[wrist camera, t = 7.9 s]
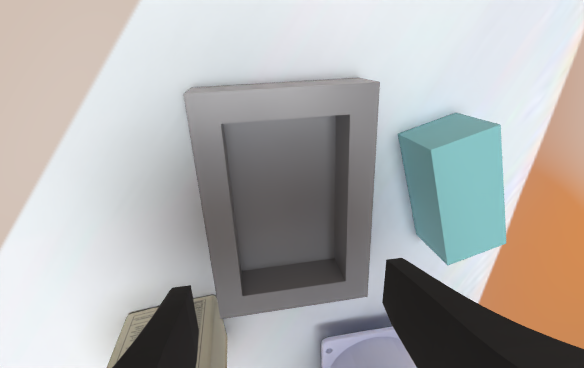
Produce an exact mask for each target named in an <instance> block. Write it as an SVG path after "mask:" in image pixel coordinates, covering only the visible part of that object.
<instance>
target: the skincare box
mask: <svg viewBox="0 0 584 368" xmlns="http://www.w3.org/2000/svg"><path fill="white" fill-rule="evenodd" d="M193 301H194V306H195V312H196V317H197V322H198V328H199V338H198V354H197V363H196V368H227V334H226V331H225V327H224V323H223V319H220V314H219V308H218V302H217V299H216V297H215V296H214V295H210V296H206V297H201V298H196V299H193ZM158 308H159V307H156V308H151V309H147V310H144V311H140V312H136V313H132V314H129V315H128V316H127V318H126V320H125V323H124V325H123V328H122V330H121V333H120V335H119V338H118V340H117V343H116V345H115V348H114V351H113V353H112V356H111V358H110V361H109V363H108V366H107V368H112V367H113V366H114V365H115V364H116V362H117V361H118V360H119V359H120V358H121V356H122V355H123V354H124V353H125V352H126V350H127V349H128V348H129V347H130V345H131V344H132V343H133V342H134V340H135V339H136V338H137V337H138V335H139V334H140V332H141V331H142V330H143V328H144V327H145V326H146V324H147V323H148V322H149V320H150V319H151V318H152V316H153V315H154V313H155V312H156V310H157V309H158Z"/></svg>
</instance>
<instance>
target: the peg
mask: <svg viewBox="0 0 584 368" xmlns="http://www.w3.org/2000/svg"><path fill="white" fill-rule="evenodd" d="M398 137H399V143H400V148H401V154H402V159H403V164H404V170H405V175H406V180H407V186H408V191H409V197H410V202H411V207H412V213H413V218H414V223H415V229H416V234H417V235H418V236H419V237H420V238H421V239H422V240H423V241H424V242H425V243H426V244H427V245H428V246H429V247H430V248H431V249H432V250H433V251H434V252H435V253H436V254H437V255H438V256H439V257H440V258H441V259H442V260H443V261H444V262H445V263H446V264H447V265H450V264H453V263H456V262H458V261H461V260H464V259H466V258H469V257H471V256H474V255H477V254H479V253H482V252H485V251H487V250H490V249H493V248H495V247H498V246H501V245H503V244H506V228H505V207H504V187H503V167H502V146H501V126H500V124H496V123H492V122H489V121H485V120H481V119H477V118H474V117H470V116H466V115H462V114H459V113H454V114H451V115H448V116H446V117H443V118H440V119H437V120H435V121H432V122H429V123H426V124H423V125H421V126H418V127H415V128H412V129H410V130H407V131H404V132H401V133H399V134H398Z"/></svg>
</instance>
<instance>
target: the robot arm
mask: <svg viewBox="0 0 584 368" xmlns="http://www.w3.org/2000/svg"><path fill="white" fill-rule="evenodd" d="M383 305H384V307H385V310H386V312H387V315H388V317H389V319H390V321H391V324H392V327H386V328H380V329H374V330H368V331H362V332H356V333H350V334H344V335H338V336H332V337H327V338H325V339H323V341H322V343H321V350H322V368H584V349H581V348H579V347H576V346H573V345H570V344H567V343H565V342H562V341H559V340H557V339H554V338H552V337H549V336H546V335H544V334H542V333H539V332H537V331H534V330H532V329H529V328H527V327H525V326H522V325H520V324H518V323H516V322H513V321H511V320H509V319H507V318H505V317H503V316H501V315H499V314H497V313H495V312H493V311H491V310H489V309H487V308H485V307H483V306H481V305H479V304H478V303H476V302H474V301H472V300H470V299H468V298H467V297H465V296H463V295H461V294H460V293H458V292H456V291H455V290H453V289H451V288H450V287H448V286H446V285H445V284H443V283H441V282H440V281H438V280H437V279H435V278H433V277H432V276H430V275H429V274H427V273H426V272H424V271H422V270H421V269H419V268H418V267H416V266H415V265H413V264H411V263H410V262H408V261H406V260H405V259H403V258H397V259H389V260H386V271H385V281H384V292H383ZM198 338H199V328H198V322H197V317H196V312H195V306H194V301H193V296H192V290H191V285H190V286H183V287H175V288H172V289H171V290H170V291H169V293H168V294H167V296H166V297H165V299H164V300H163V302H162V303H161V305H160V306H159V308H158V309H157V310H156V312H155V313H154V315H153V316H152V318H151V319H150V320H149V322H148V323H147V324H146V326H145V327H144V328H143V330H142V331H141V332H140V334H139V335H138V337H137V338H136V339H135V340H134V342H133V343H132V344H131V345H130V347H129V348H128V349H127V350H126V352H125V353H124V354H123V355H122V356H121V358H120V359H119V360H118V361H117V362H116V364H115V365H114V366H113V367H112V368H196V363H197V354H198Z"/></svg>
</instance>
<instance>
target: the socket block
mask: <svg viewBox="0 0 584 368" xmlns="http://www.w3.org/2000/svg"><path fill="white" fill-rule="evenodd" d="M379 87H380V82H378V81H372V80H367V79H362V78H347V79H330V80H313V81H296V82H279V83H262V84H245V85H227V86H210V87H193V88H190V89H189V90H188V91H186V92H185V93H184V101H185V107H186V113H187V119H188V125H189V131H190V137H191V143H192V149H193V155H194V161H195V168H196V174H197V180H198V186H199V192H200V198H201V204H202V210H203V216H204V222H205V228H206V235H207V241H208V247H209V253H210V259H211V265H212V271H213V277H214V283H215V289H216V295H217V302H218V308H219V314H220V319H224V318H231V317H237V316H244V315H251V314H257V313H264V312H270V311H277V310H283V309H290V308H296V307H303V306H309V305H316V304H322V303H329V302H335V301H342V300H349V299H355V298H362V297H367V295H368V277H369V260H370V243H371V225H372V208H373V191H374V174H375V156H376V139H377V122H378V104H379Z"/></svg>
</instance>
